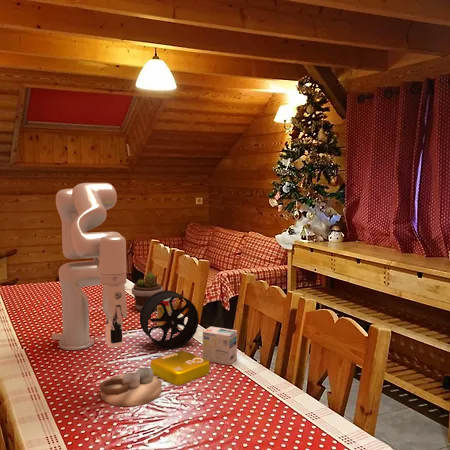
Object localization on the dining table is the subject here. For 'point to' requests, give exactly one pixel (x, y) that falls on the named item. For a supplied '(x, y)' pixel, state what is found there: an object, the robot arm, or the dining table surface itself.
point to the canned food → (161, 311)
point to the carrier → (131, 388)
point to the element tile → (180, 367)
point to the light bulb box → (220, 345)
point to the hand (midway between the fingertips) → (114, 339)
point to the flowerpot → (145, 290)
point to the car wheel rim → (170, 320)
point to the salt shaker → (108, 335)
